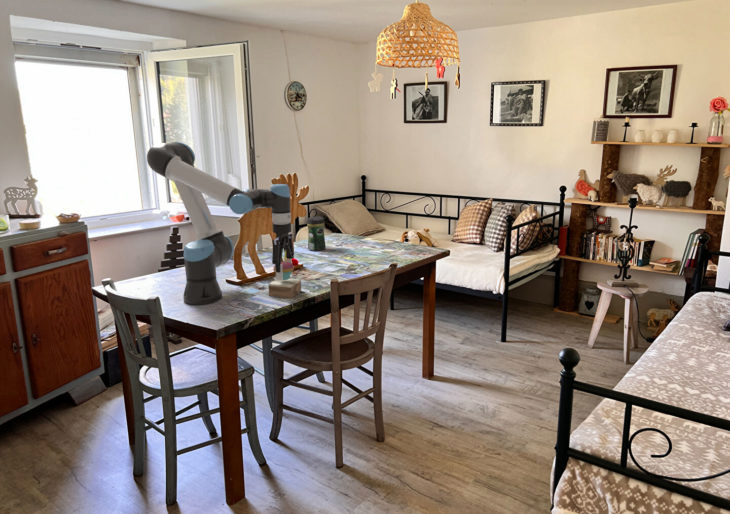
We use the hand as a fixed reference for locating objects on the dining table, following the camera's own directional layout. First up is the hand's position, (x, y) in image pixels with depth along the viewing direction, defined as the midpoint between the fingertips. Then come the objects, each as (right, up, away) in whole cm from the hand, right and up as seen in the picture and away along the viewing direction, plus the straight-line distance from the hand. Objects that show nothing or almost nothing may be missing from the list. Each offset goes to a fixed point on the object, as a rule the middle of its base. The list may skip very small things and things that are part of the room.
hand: (284, 276), depth 226 cm
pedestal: (0, -7, +2) cm, 7 cm away
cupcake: (0, -1, 0) cm, 1 cm away
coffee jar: (+6, +12, +79) cm, 80 cm away
